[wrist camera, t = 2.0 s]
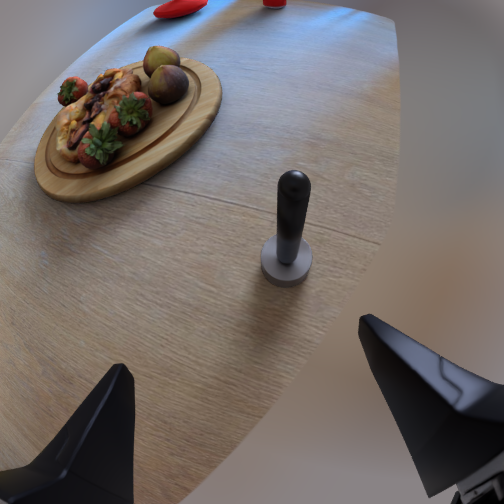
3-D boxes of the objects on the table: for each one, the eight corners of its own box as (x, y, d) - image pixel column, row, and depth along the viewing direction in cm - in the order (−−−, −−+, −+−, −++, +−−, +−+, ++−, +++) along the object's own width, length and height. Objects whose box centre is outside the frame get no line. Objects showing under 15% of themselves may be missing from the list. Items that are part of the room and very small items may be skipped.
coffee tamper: (318, 260, 26) (351, 172, 14) (290, 297, 25) (307, 230, 13) (280, 234, 27) (284, 135, 15) (251, 268, 26) (234, 183, 14)
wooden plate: (29, 146, 38) (7, 119, 31) (157, 53, 45) (147, 22, 38) (73, 257, 28) (28, 224, 20) (270, 103, 35) (268, 53, 27)
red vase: (181, 24, 52) (176, 2, 46) (144, 23, 56) (139, 5, 50) (220, 5, 57) (217, -14, 50) (182, 5, 61) (179, -12, 54)
